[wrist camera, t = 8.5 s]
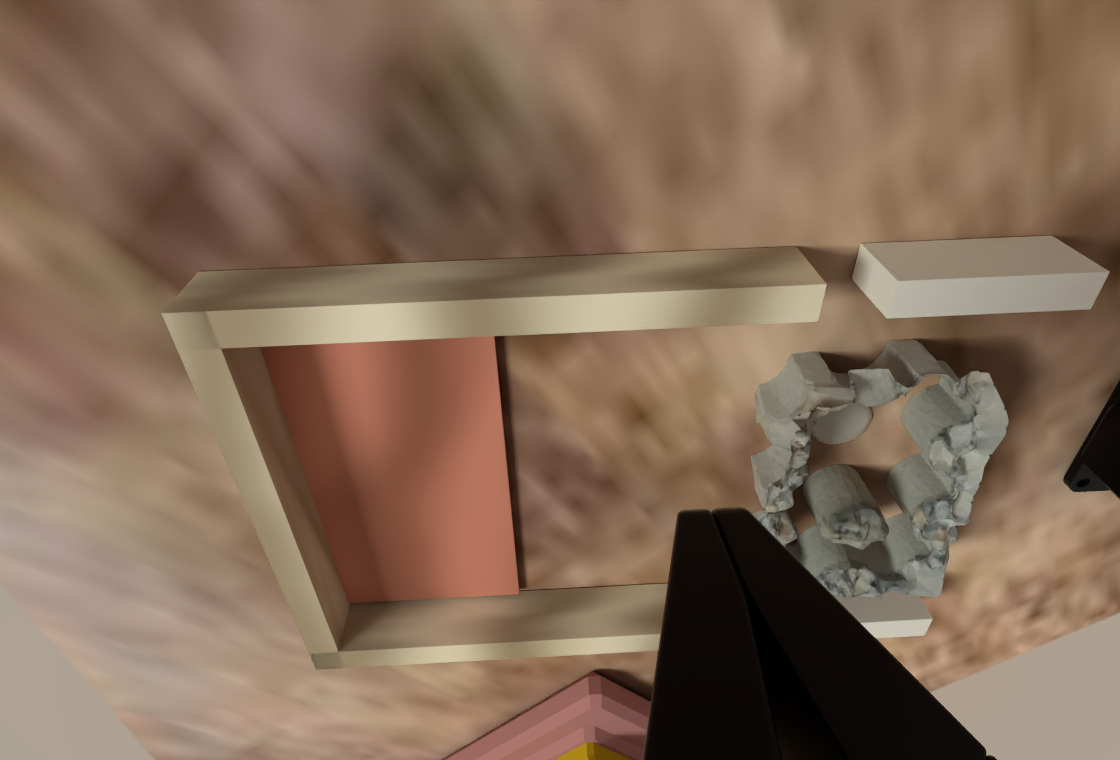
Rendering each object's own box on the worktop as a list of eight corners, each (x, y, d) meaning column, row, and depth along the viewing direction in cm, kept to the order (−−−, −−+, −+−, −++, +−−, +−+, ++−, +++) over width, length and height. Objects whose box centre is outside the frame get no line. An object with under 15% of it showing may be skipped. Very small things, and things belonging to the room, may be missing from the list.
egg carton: (752, 342, 23) (792, 416, 19) (970, 324, 23) (1047, 395, 19) (728, 548, 29) (755, 631, 26) (899, 534, 29) (949, 615, 26)
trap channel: (796, 246, 20) (826, 283, 18) (726, 596, 30) (741, 645, 28) (198, 271, 20) (161, 313, 18) (330, 618, 30) (316, 669, 28)
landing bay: (1052, 235, 20) (1110, 271, 18) (897, 587, 31) (924, 635, 29) (860, 243, 20) (898, 280, 18) (769, 594, 31) (787, 643, 29)
